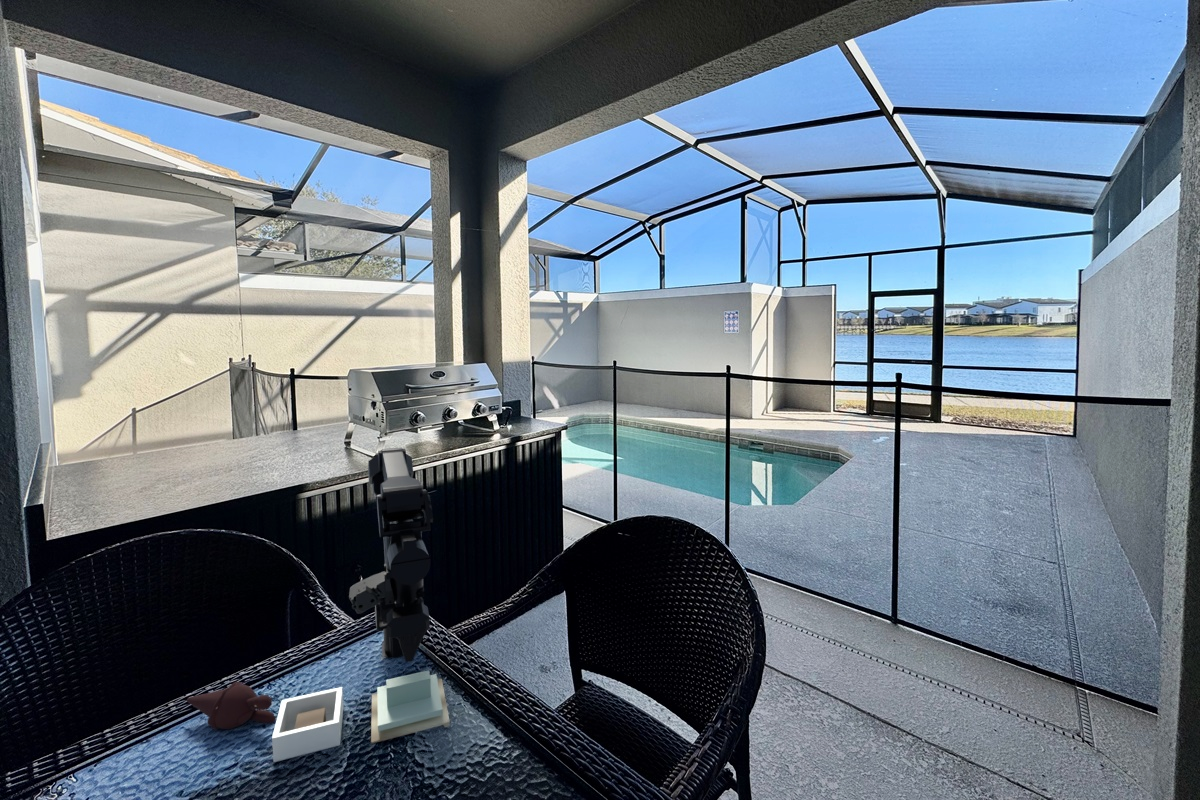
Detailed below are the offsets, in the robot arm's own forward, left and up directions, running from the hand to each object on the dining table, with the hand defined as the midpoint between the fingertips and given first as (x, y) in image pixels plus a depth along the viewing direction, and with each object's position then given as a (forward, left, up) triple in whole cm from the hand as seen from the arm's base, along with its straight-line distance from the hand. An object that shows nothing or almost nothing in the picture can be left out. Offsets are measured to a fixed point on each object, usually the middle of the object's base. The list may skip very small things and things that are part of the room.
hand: (407, 645), depth 90 cm
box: (+1, -15, -12) cm, 19 cm away
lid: (+1, 0, -11) cm, 11 cm away
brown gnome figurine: (-7, -28, -12) cm, 31 cm away
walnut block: (+1, -15, -11) cm, 19 cm away
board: (+1, 0, -12) cm, 12 cm away
